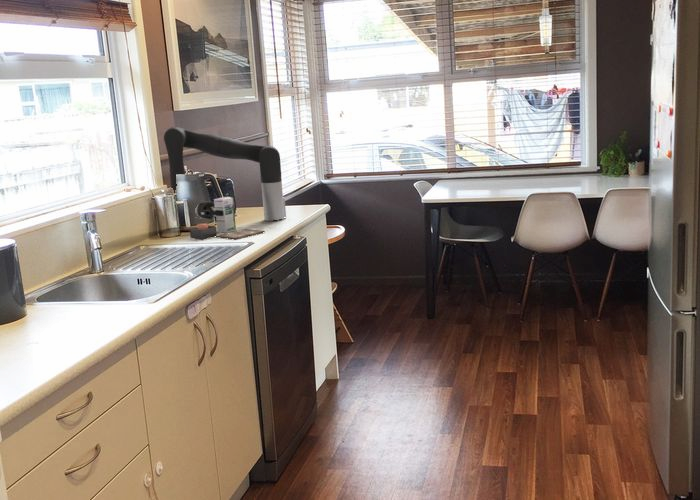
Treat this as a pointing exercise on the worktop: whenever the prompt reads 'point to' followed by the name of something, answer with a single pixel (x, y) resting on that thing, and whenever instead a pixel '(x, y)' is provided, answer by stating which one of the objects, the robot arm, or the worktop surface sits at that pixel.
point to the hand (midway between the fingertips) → (228, 212)
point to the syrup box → (225, 215)
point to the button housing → (203, 233)
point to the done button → (202, 226)
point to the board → (240, 234)
